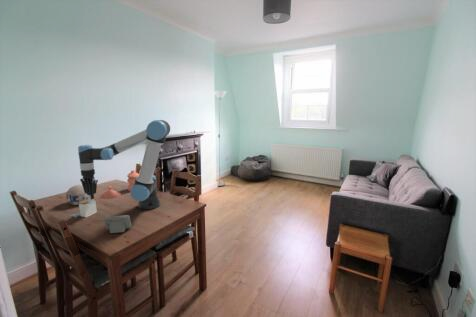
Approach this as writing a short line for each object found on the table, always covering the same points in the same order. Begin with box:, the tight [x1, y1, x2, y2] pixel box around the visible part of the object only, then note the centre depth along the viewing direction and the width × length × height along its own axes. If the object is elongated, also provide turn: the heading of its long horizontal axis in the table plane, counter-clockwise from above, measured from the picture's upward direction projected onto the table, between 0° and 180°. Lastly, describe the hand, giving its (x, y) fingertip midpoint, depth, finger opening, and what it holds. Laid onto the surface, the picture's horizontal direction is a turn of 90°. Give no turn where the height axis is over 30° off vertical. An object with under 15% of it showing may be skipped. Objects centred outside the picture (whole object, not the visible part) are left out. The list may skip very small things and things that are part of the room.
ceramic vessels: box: [99, 169, 139, 200], centre depth 194 cm, size 35×21×19 cm, turn 138°
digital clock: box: [103, 214, 132, 234], centre depth 136 cm, size 14×8×9 cm, turn 91°
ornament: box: [65, 184, 88, 206], centre depth 174 cm, size 15×15×15 cm
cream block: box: [78, 198, 98, 218], centre depth 157 cm, size 5×8×10 cm, turn 160°
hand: (91, 203), depth 155 cm, fingers closed
